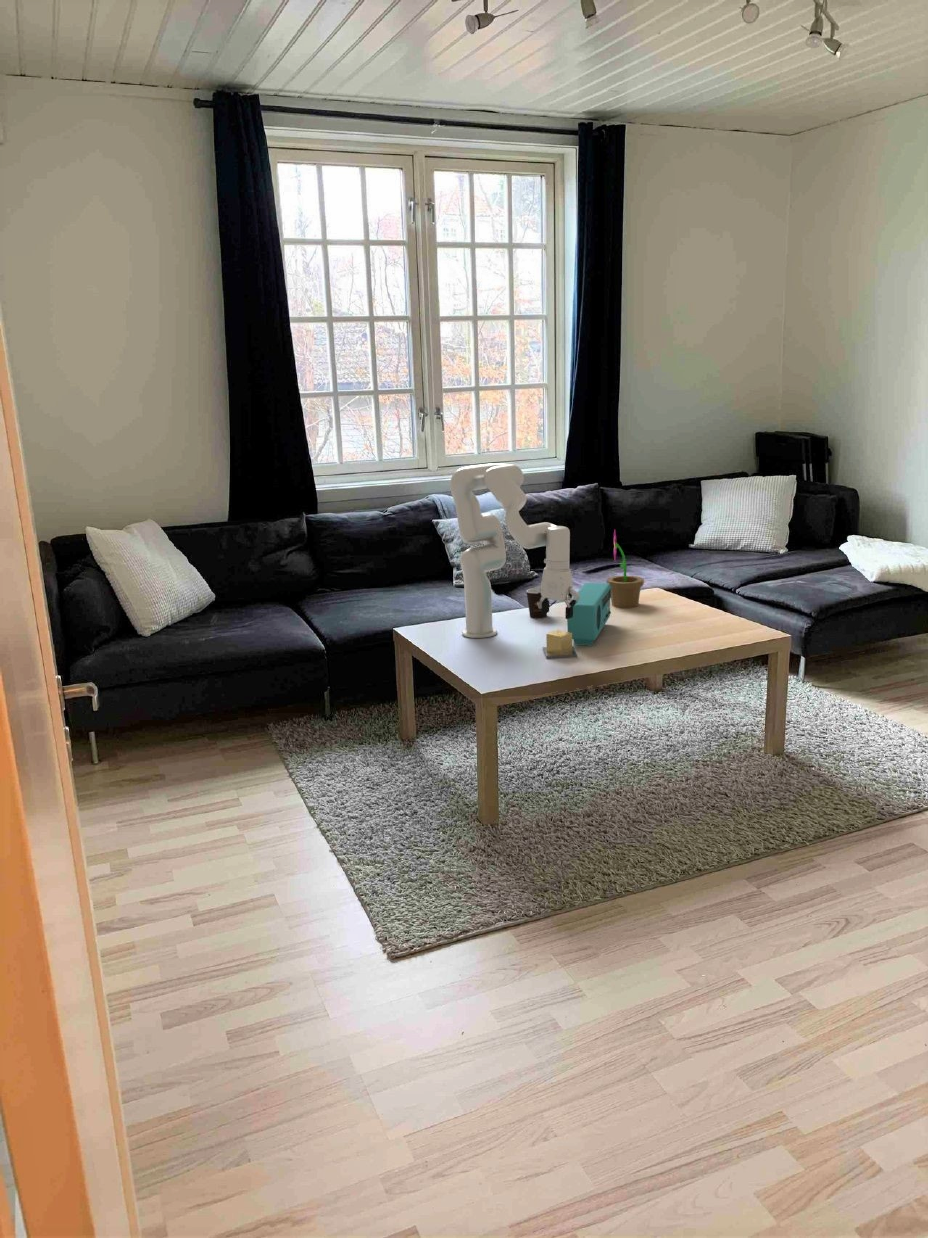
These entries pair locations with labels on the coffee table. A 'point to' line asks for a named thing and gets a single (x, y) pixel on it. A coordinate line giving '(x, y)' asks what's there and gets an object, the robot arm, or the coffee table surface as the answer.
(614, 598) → the flowerpot
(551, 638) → the pale yellow cube
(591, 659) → the coffee table surface
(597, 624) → the radio
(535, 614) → the coffee mug
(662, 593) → the coffee table surface
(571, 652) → the stud plate
